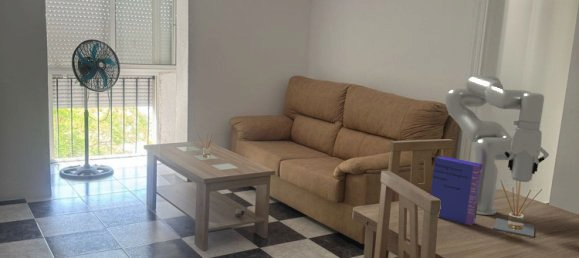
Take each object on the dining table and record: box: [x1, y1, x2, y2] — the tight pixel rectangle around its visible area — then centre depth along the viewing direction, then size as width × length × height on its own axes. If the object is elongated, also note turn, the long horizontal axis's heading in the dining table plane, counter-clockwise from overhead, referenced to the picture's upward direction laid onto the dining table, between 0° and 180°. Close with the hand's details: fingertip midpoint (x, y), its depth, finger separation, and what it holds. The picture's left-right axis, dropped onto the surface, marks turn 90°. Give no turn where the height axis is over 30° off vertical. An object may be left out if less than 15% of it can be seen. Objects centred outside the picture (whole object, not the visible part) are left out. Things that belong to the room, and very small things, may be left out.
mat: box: [492, 217, 535, 238], centre depth 199 cm, size 14×14×1 cm
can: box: [510, 151, 535, 183], centre depth 195 cm, size 8×8×12 cm
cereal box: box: [430, 155, 483, 227], centre depth 203 cm, size 17×5×24 cm, turn 50°
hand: (522, 171), depth 195 cm, fingers closed on can, 7 cm apart
